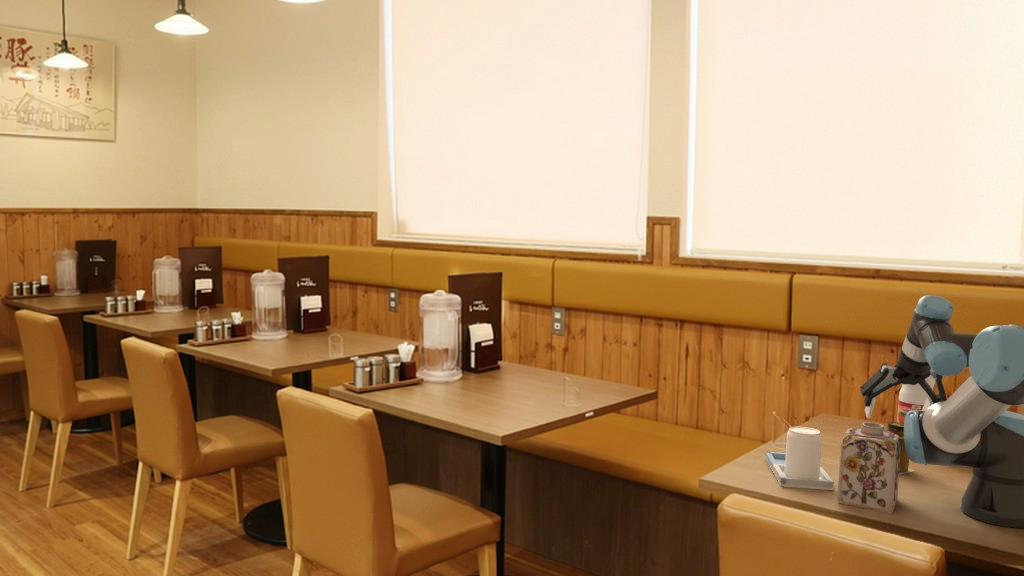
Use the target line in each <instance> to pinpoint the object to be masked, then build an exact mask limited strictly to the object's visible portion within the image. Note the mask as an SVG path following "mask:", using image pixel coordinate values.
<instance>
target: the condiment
mask: <svg viewBox="0 0 1024 576" xmlns="http://www.w3.org/2000/svg"><path fill="white" fill-rule="evenodd" d="M886 431H890V432H892V433H894V434H896V435H898V436H899V438H900V440H901V448H900V469H899V476H900V475H903V474H909V473H912V472H915V471H916V470H915V469H911V468H909V465H910V459H909V457H908V455H907V452H906V448H905V441H904V423H900V422H897V421H892V422H888V423H887V428H886Z"/></svg>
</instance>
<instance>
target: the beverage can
mask: <svg viewBox="0 0 1024 576" xmlns="http://www.w3.org/2000/svg"><path fill="white" fill-rule="evenodd" d="M822 443H823V436H822V435H821V431H820V430H819V429H816V428H812V427H808V426H807V427H806V426H790V427H789V429H788V431H787V433H786V444H785V445H786V446H785V453H786V457H785V475H786V476H787V477H792V478H806V479H819V477H820V465H821V459H822V447H823V446H822V445H823V444H822Z"/></svg>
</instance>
